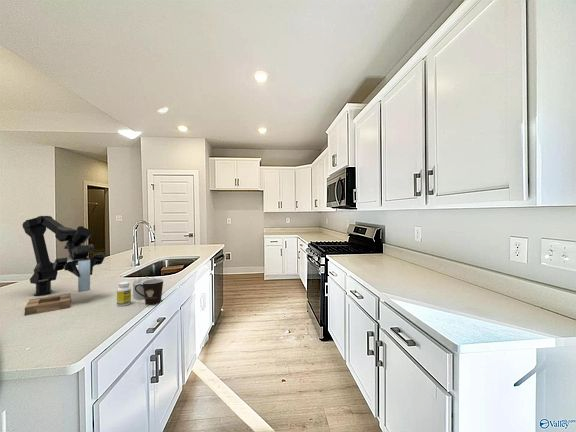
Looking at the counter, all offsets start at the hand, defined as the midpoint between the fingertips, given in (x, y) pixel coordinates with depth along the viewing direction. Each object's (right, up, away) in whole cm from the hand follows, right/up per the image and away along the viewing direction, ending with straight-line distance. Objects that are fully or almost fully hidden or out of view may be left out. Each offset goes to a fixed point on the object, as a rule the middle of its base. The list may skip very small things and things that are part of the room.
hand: (85, 275), depth 119 cm
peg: (-1, -7, +1) cm, 7 cm away
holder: (-12, -13, -5) cm, 18 cm away
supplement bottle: (+19, -13, -2) cm, 23 cm away
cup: (+21, -13, +11) cm, 27 cm away
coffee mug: (+30, -13, +1) cm, 33 cm away
